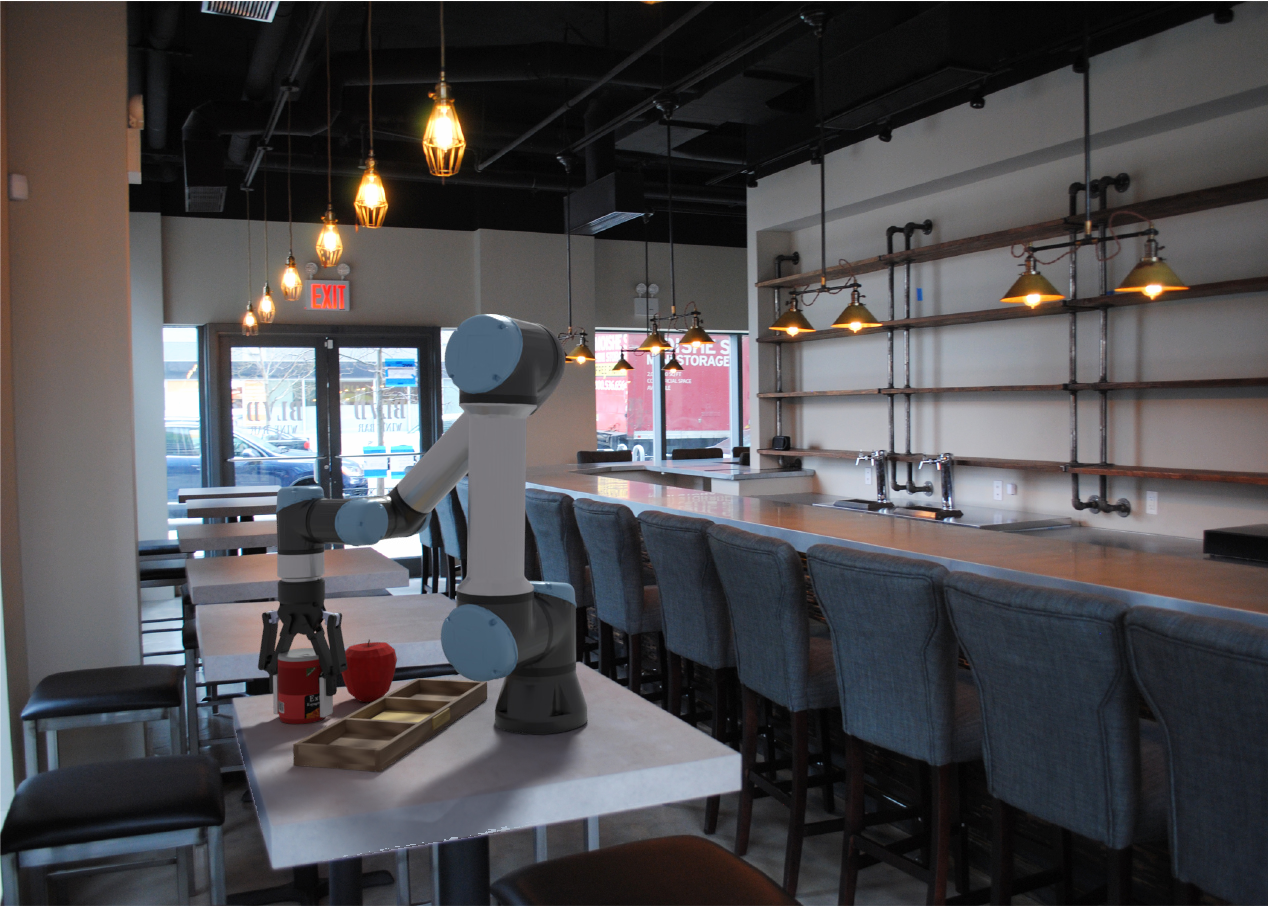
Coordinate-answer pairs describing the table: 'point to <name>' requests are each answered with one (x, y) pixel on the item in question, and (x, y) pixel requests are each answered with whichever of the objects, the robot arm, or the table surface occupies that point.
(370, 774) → the table surface
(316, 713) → the canned food
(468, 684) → the caddy
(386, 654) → the apple
